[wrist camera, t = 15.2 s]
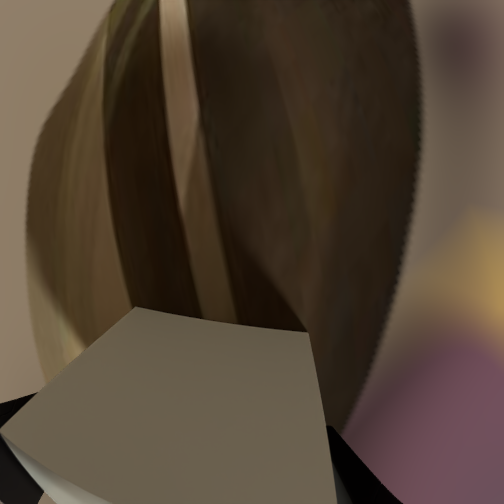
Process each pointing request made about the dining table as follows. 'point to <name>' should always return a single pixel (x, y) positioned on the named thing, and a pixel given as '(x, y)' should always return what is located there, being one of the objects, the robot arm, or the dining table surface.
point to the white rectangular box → (180, 418)
